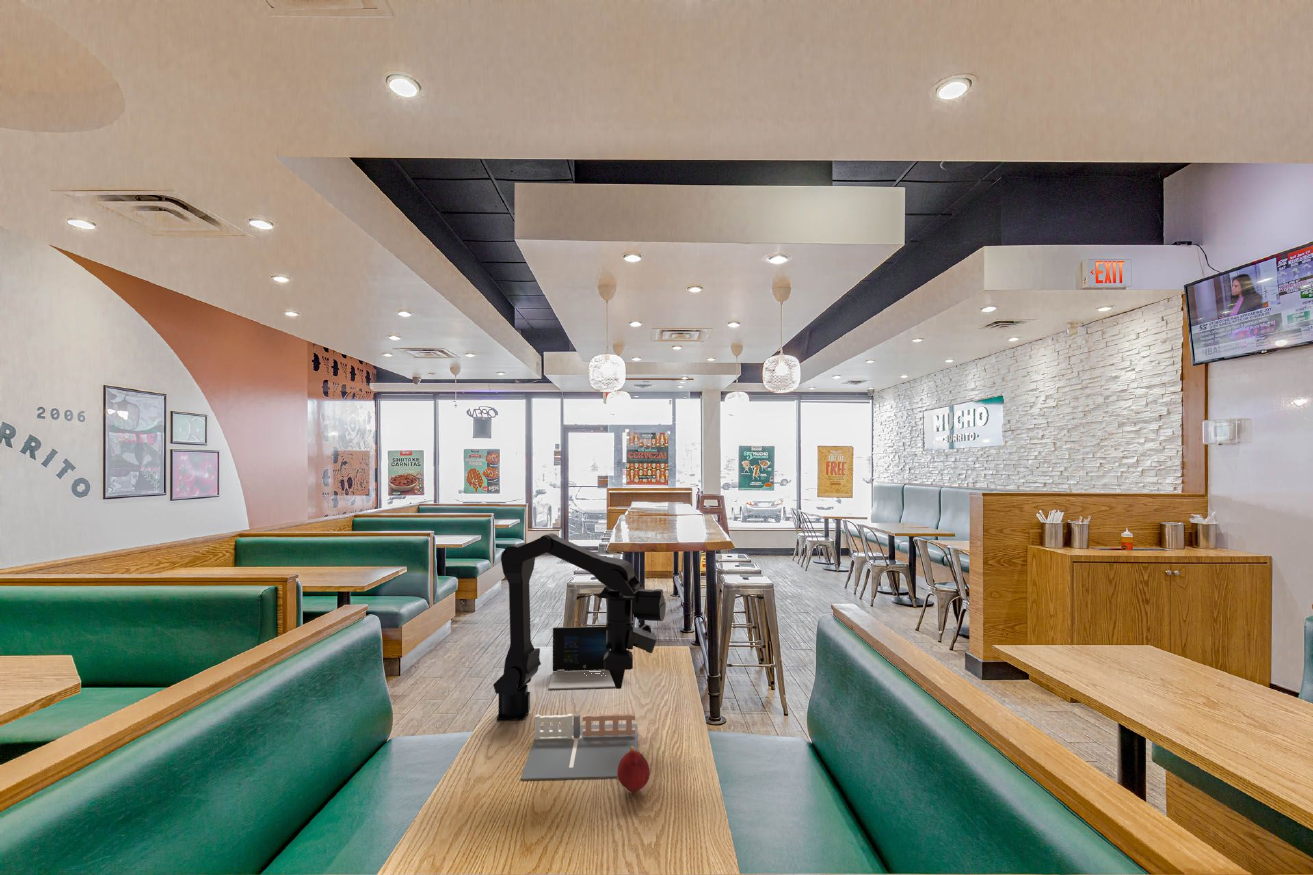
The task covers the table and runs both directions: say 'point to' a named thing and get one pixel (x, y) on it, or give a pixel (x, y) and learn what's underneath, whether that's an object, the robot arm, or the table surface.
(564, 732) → the fence fixed
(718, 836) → the table surface
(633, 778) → the onion
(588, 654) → the laptop
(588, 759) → the mat
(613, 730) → the fence gate
